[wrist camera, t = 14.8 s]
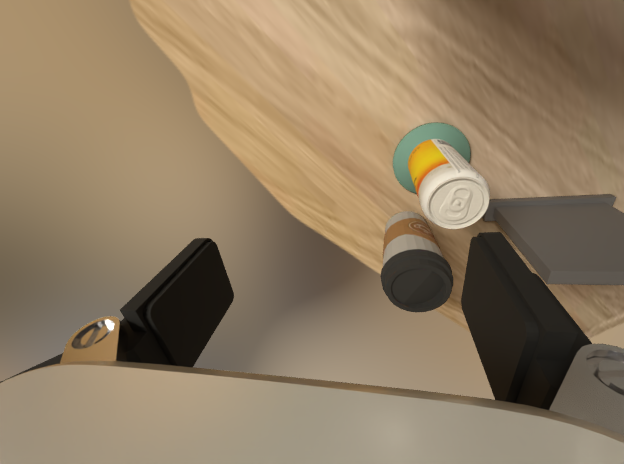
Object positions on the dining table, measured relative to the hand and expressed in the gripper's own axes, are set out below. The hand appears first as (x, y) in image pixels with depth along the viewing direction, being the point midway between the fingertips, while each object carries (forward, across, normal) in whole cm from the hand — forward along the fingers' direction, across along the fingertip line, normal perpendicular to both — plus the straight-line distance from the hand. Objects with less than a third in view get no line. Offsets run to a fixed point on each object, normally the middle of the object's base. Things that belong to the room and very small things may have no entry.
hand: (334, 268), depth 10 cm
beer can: (+33, -9, +6) cm, 35 cm away
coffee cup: (+34, -6, +17) cm, 38 cm away
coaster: (+33, -9, +6) cm, 35 cm away
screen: (+33, -24, +14) cm, 44 cm away
